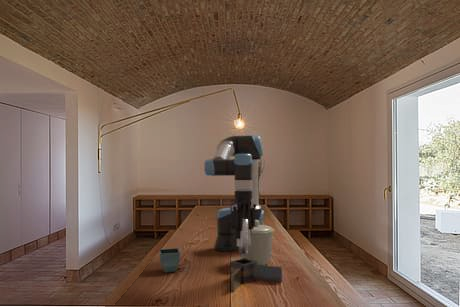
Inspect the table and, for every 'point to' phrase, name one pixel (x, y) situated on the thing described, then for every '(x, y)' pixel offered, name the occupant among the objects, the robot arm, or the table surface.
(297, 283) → the table surface
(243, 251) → the hinge pin
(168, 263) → the flower pot
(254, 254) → the canister
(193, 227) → the table surface
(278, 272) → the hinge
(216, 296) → the table surface
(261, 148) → the robot arm
